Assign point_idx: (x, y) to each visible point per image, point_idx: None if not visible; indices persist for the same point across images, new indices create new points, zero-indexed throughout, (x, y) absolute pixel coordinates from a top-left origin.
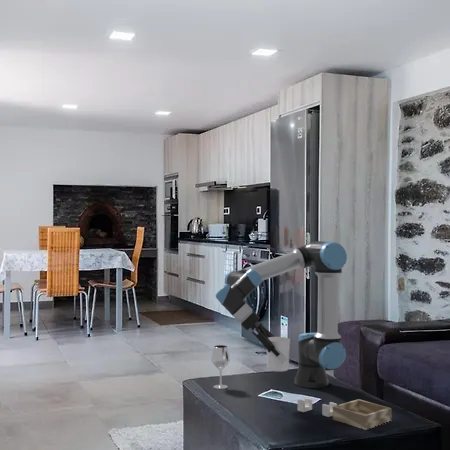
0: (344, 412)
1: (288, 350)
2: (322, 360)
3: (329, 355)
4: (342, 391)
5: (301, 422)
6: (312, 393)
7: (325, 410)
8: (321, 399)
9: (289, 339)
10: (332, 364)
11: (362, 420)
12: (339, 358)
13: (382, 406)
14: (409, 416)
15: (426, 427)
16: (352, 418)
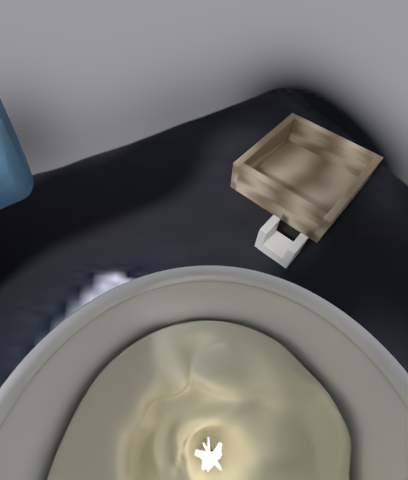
0: (348, 201)
1: (256, 328)
2: (20, 186)
3: (14, 142)
4: (34, 212)
5: (382, 328)
6: (44, 298)
7: (297, 252)
8: (120, 270)
9: (173, 280)
10: (28, 167)
11: (372, 172)
12: (11, 126)
13: (285, 125)
14: (241, 111)
15: (302, 98)
16: (357, 191)
